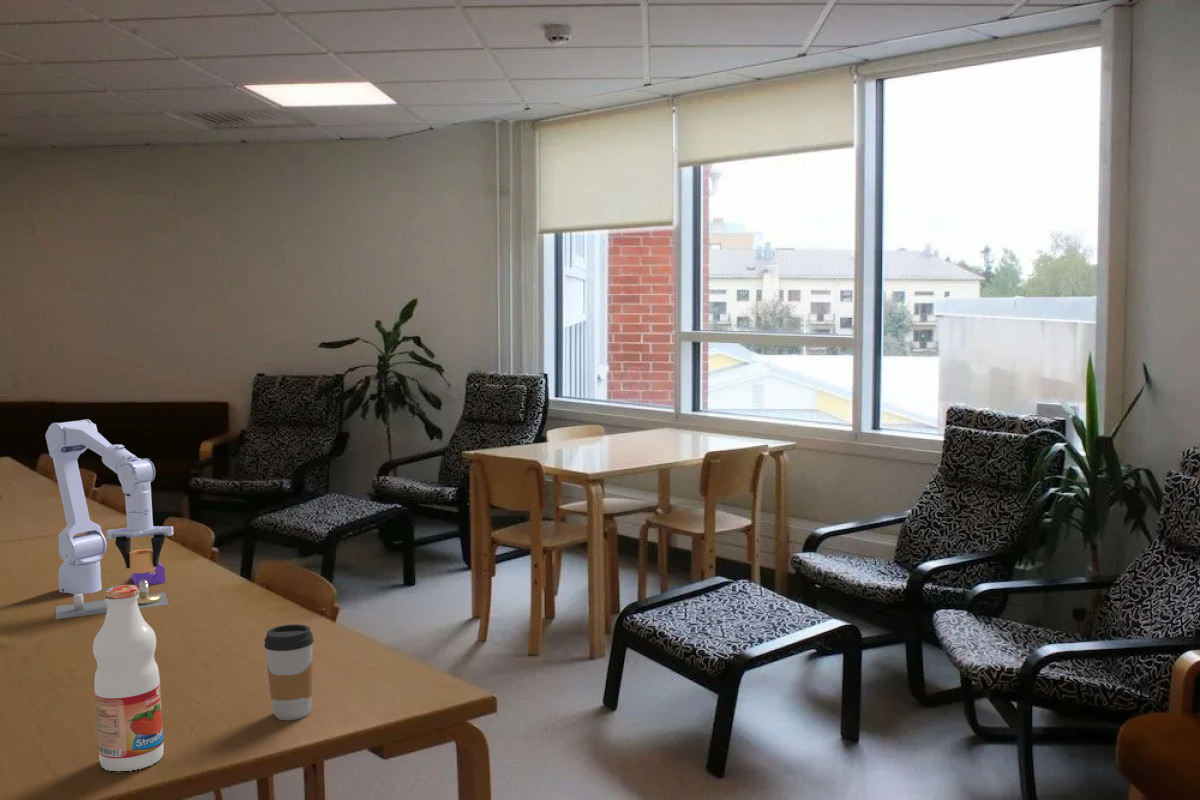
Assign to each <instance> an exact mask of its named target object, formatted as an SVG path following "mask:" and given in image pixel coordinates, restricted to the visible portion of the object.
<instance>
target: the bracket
mask: <svg viewBox="0 0 1200 800" xmlns="http://www.w3.org/2000/svg"><path fill="white" fill-rule="evenodd" d="M165 570H166V569H165V567H164V565H163V564H162V563H160V562H159V563H158V566H157V567H155V570H154V572H152V573H151V572H146V573H131V574H132V575H130V579H132V581H133V584H134V585H135V586H137V587H138V588H139V583H140V581H141V580H146V581H147V582H148V586H152V585H158V584H165V583H166V571H165Z"/></svg>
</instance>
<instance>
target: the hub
mask: <svg viewBox="0 0 1200 800" xmlns="http://www.w3.org/2000/svg"><path fill="white" fill-rule="evenodd" d="M138 589H139V597H138V598H137V603H138V605H148V604H153V603H156V602H158V601H160V600H161V595H160V594H158V593H159V592H149V585H148V582H147V581H146V580H141V581H140V583H139V586H138Z"/></svg>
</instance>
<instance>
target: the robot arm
mask: <svg viewBox="0 0 1200 800" xmlns="http://www.w3.org/2000/svg"><path fill="white" fill-rule="evenodd" d="M44 435H45V440H46V445H47V449H48V452H49V454H48V455H49V456H50V458H52V461H53V466H54V472H55V475H56V480H57V484H58V491H59V493H60V494H59V495H60V498H61V503H62V506H63V507H62V508H63V512H64V516H65V521H66V522H65V523H66V526H65V527H64V528H63V529H62V530H61V532H59V534H58V535H57V537H58V554H59V557H60V559H61V560H63V562H62V563H61V564H60V566H59V569H58V571H57V572H58V573H57V574H58V575H57V576H58V590H59V593H67V594H71V595H76V594H83V595H87V594H93V593H96V592H100V591H101V590H102V575H101V574H102V573H101V560H103V556H104V554H106V552H107V547H108V543H107V540H113V539H115V541H114V543H115V546H116V547H117V548H118V550H119V552H120V554H121V557H122V558H123V561H124V563H125V566H126V567H125V568H126V569H130V564H129V553H130V552H132V551H131V550H132V549H131V546H132V545H131V540H132V538H144V537H146V538H147V537H151V538H150V542H151V548H152V550H153V566H154V567H157V566H158V563H160V556H161V555H160V554H161V552H162V548H163V545H164V543H165V540H166V537H167V536H168V537H170V536H173V535H174V526H172V525H170V526H168V525H167V526H165V525H164V526H163V525H162V526H161V525H160V526H159V525H157V526H156V525H154V521H153V506H152V505H153V503H152V486H151V483H152V482H153V481H154V480H155V477H156V468H155V465H154V463H153V461H151V460H150V459H149V458H139V457H138V456H136V455H135V454H134V453H131V452H130V451H129V450H127V448H125V445H123V444H112V443H110V442H109V441H108V440H107V438H105V437H104V436H103V435H102V434H101V433H100V432H99V431H98V428H97V424H96V423H93V422H92V421H91V419H88V418H87V419H81V420H72V421H64V422H52V423H51V424H50V425H49V426H48V429H47V430H46V432H45V434H44ZM87 449H89V450H91V451H92V452H94V453H96V454H97V455H99V456H101V462H102V463H103V464H104V465H105V466H106V467H107V468H109V469H110V470H111V471H113V472H114V473H115V474H116V475H117V477H118V480H119V483H120V485H121V490H122V493H123V494H124V500H125V503H124V504H125V514H126V516H125V518H126V527H124V528H116V529H115V528H114V529H113V528H112V529H108V530H107V531H106V537H107V538H106V537H105V536H104V534H103V531H102V526H101V525H100V524H98V523H96V522H93V520H91V519H90V514H89V509H88V504H87V500H86V495H85V492H84V491H85V490H84V485H83V481H82V478H81V477H82V476H81V472H80V468H79V463H78V459H79V457H80V455H81V454H83V453H85V451H86V450H87ZM75 535H76V536H75Z"/></svg>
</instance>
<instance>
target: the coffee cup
mask: <svg viewBox="0 0 1200 800" xmlns="http://www.w3.org/2000/svg"><path fill="white" fill-rule="evenodd" d="M313 637H314V634H313V632H311V628H310V626H309V625H305V624H300V623H299V624H296V623H295V624H293V623H291V624H284V625H279V626H274V627H272V628H270V629H267V631H266V636H265V637H264V645H263V647H264V649H265V653H266V654H265V655H266V663H267V667H266V669H267V675H268V683H269V684H268V685H269V690H270V691H269V692H270V698H271V705H272V711H273V713H272V714H273V715H274V717H275V718H276V719H278V720H282V721H293V720H299V719H302V718H305V717H306V716H308V715H309V714H310V711H311V710H312V695H313V665H314V664H313V661H314V660H313V643H314V638H313Z"/></svg>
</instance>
